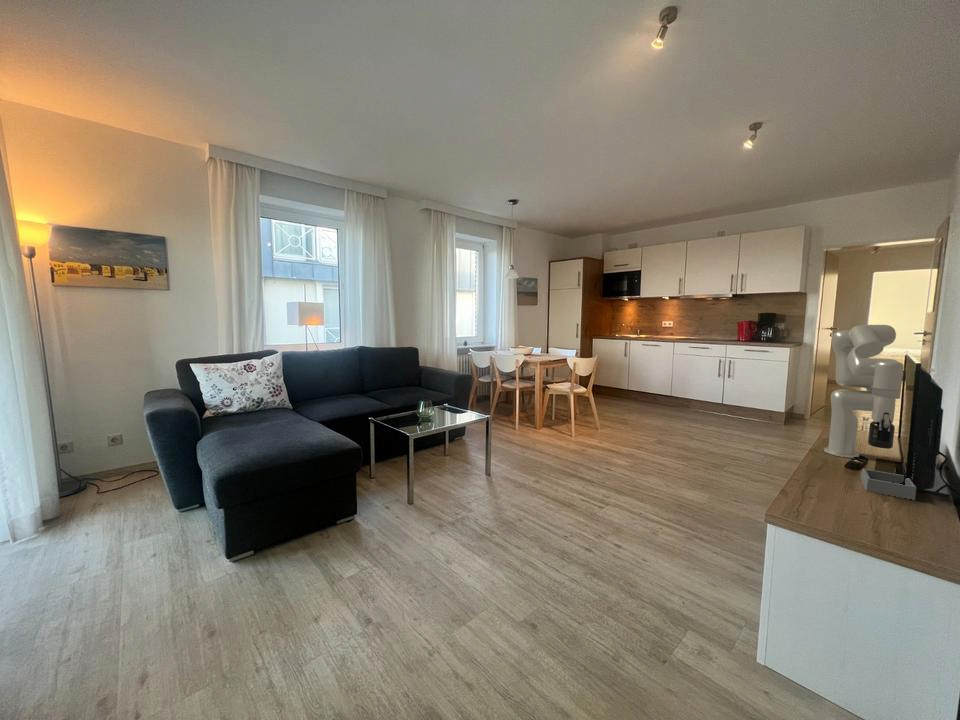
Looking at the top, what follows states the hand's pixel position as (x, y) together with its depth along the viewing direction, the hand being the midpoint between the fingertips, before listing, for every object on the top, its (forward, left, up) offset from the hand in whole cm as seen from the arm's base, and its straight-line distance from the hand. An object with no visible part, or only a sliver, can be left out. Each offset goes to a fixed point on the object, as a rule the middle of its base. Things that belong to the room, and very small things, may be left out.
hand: (880, 437), depth 150 cm
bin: (+1, +3, -20) cm, 20 cm away
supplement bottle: (0, 0, -4) cm, 4 cm away
